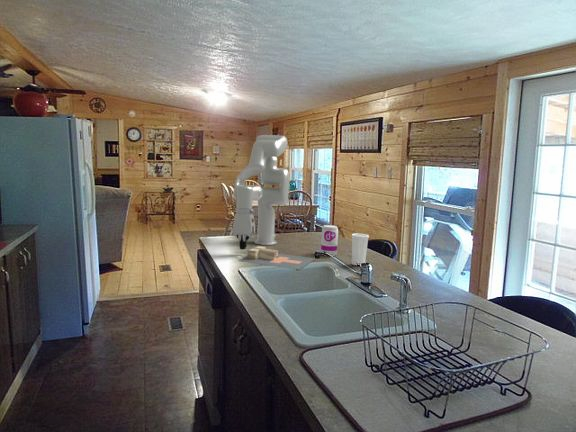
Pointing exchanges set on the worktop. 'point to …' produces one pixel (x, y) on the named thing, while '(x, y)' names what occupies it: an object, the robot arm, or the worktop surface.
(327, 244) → the supplement can
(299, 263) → the mat
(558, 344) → the worktop surface
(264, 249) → the t block
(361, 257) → the cup
